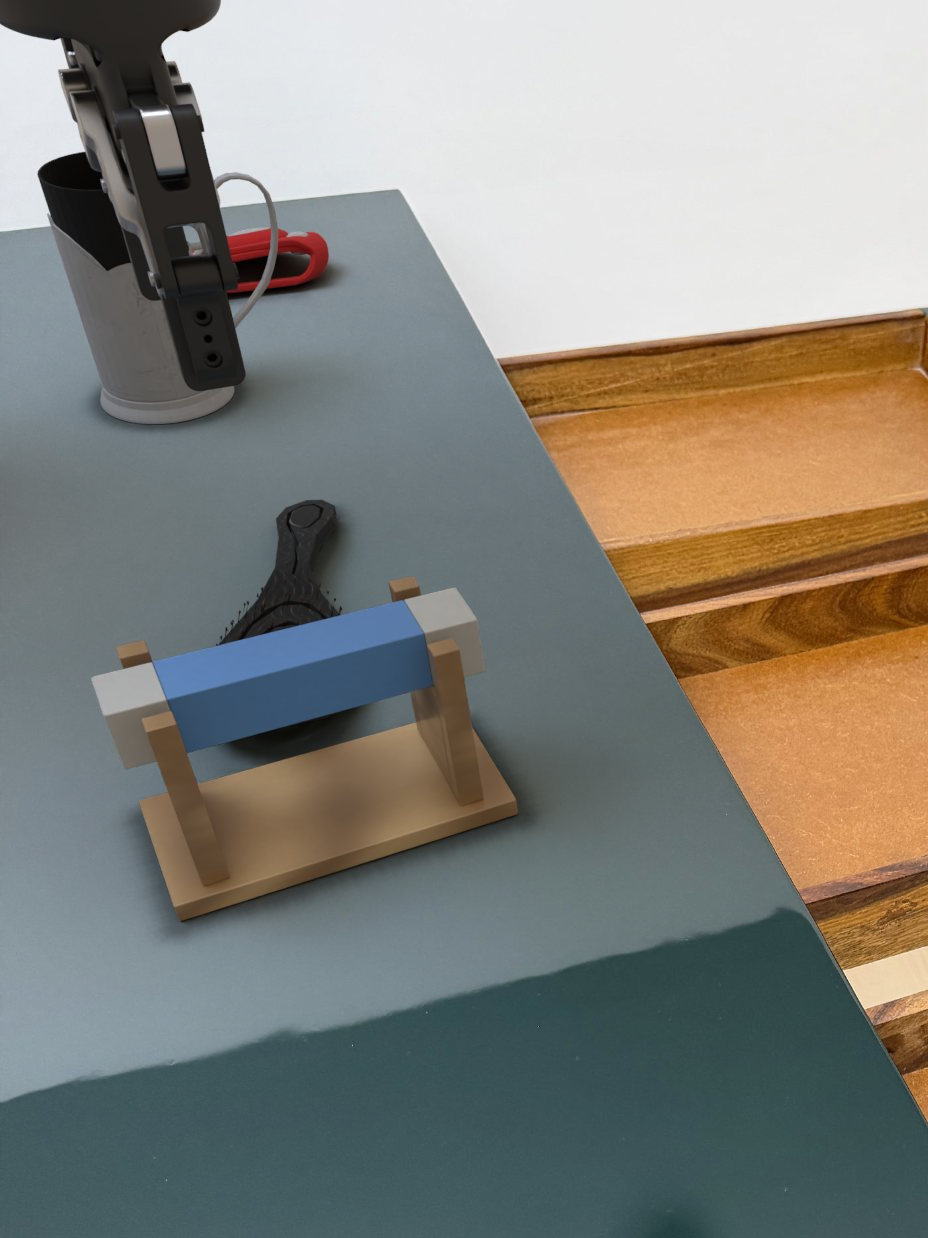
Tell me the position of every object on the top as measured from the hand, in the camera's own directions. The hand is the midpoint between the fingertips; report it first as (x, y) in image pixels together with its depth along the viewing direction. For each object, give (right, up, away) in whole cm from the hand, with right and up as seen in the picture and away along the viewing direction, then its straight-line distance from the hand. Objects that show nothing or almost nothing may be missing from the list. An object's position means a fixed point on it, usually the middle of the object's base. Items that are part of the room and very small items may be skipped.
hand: (192, 338), depth 56 cm
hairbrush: (-5, -8, +24) cm, 26 cm away
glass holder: (-19, +12, +44) cm, 49 cm away
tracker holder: (-22, +25, +57) cm, 66 cm away
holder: (+1, -19, +13) cm, 23 cm away
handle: (+2, -14, +8) cm, 16 cm away
